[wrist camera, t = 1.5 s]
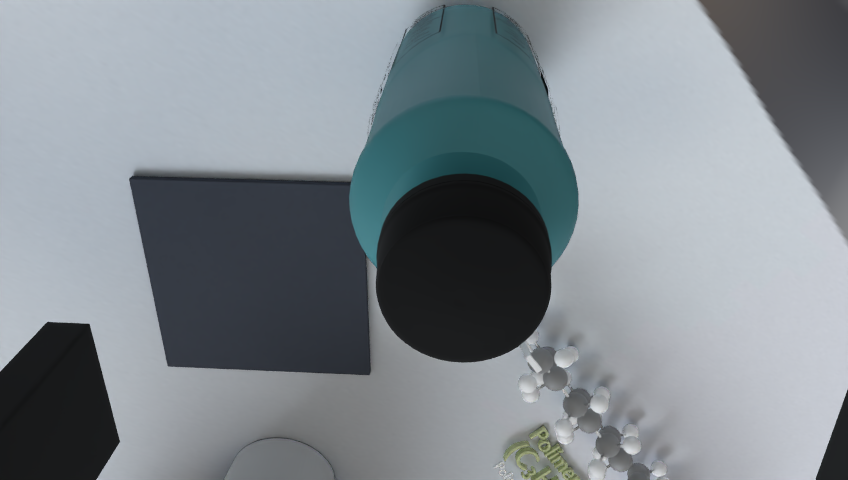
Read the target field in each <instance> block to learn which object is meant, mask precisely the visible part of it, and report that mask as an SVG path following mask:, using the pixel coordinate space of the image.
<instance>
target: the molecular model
mask: <svg viewBox="0 0 848 480" xmlns="http://www.w3.org/2000/svg"><path fill="white" fill-rule="evenodd" d="M538 339H539V333H538V331H537V330H535V331H534V333H533V334H532V335H531V336H530V337H529V338H528V339H527V340H526V341H525V342H523V343H522V344H521V345H520V347H521V350H522V352H523V355H524V357H525V359H526V360H527V362H528V366H529V368H530V369H531V370H532V373H531V374H524V375H522V376H521V377H520V378H519V380H518V387H519V389H520V390H521V391H522V397H523V399H524V400H525V401H526V402H528V403H534V402H536V401H537V400H538V399H539V396H540V392H539V390H540V389H541V388H543V387H544V386H546V387H547V388H548V389H550V390H552V391H560V390H562V391H563V392H564V394H565V395H566V397H565V399H564V401H563V407H564V410H565V411H564V413H563V418H562V419H559V420H558V421H557V422H556V423H555V431H556V437H557V439H558V441H559V442H560V443H562V444H570V443H571V442H572V441H573V439H574V433H573V432H574V431H575V430H577V429H578V428H580V429H581V430H582V431H584V432H586V433H594V432H596V434H597V435H598V438H597V440H596V446H595V447H594V449H593V456H594V458H595V459H594V460H592V461H591V462H590V463H589V465H588V476H589V478H590V479H591V480H604V478H605V473H606V469H607V468H609V467H610V466H611V467H612V468H613V469H614V470H616V471H618V472H624V471H627V470H628V472H627V475H628V480H650V473H653V474H654V475H655V476H658V478H657V479H656V480H670V479H669V478H667V477H664V475H665V474H666V473H667V466H666V464H665V463H664V462H662V461H659V460H658V461H655V462H653V463H652V465H651V470H650V471H649V469H648V468H647V467H646V466H645V465H644V464H641V463H634V464H632V461H633V460H632V456H631V455H634V454H637V453H639V451H640V450H641V442H640V440H639V439H638V436H639V430H638V428H637V427H636V426H635V425H633V424H627V425H626V426H624V428H623V434H620V433H619V431H618V430H617V429H616V428H615V427H612V426H605V427H603V426H602V425H601V423H602V420H601V419H602V413H604V412H605V411H607V409H608V407H609V399H610V392H609V390H608V389H607V388H605V387H598V388H596V389H595V391H594V396H592V397H591V396H590V394H589V393H588V392H587V391H586V390H584V389H582V388H576V389H574V390H573V389H572V387H571V386H570V383H571V381H572V375H571V373H570V372H569V371H568V370H565V369H563V368H567V367H569V366H571V364H572V363H574V362H576V361H577V360H578V358H579V352H578V350H577V349H576V348H575V347H573V346H567V347H565V348H564V349H560V350H558V351H557V352H556V351H555V350H554V349H553V348H550V347H543V348H540V347H539V345H538V344H537V343H536V342H537V341H538ZM533 344H535V345H536V347H537V349H534V350H533V349H532V348H531V347H530V345H533ZM529 350H530V351H529ZM530 352H531V353H530ZM557 365H558V366H557ZM537 385H538V386H540V385H541V386H540V387H538V388H537ZM567 385H568V387H569V388H570V390H571V392H570V393H569V394H568V393H567V392H566V390H565V389H564V387H565V386H567ZM590 406H591V408H590V409H588V408H589V407H590ZM576 423H577V424H578V426H577V427H576V428H574V429H573V425H574V424H576ZM600 427H601V430H600V431H599V432H598V430H599V428H600ZM542 432H545V433H544V434H541V433H542ZM537 435H538V437H539V438H541V440H540V441H539V442H538V447H539V450H540V451H542V452H544V455H545V456H547V458H548V460H550V462H551V463H554V462H555V461H557V460H559V459H560V460H559V461H557V462H556V463H554V467H555V468H557V467H559V466H560V465H562V464H563V465H562V466H560V467H559V468H557V469H558V472H559V473H560V472H562V476H563V478H564V479H566V480H580V478H579V476H577V474H574V471H573V469H572V468H571V467H568V465H567V462H566V461H565V460H563V457H562V456H561V455H560V454H558V452H559V453H564V452H563V449H562V448H560V445H559V444H556V445H554V446H553V447H551V445H550V442H549V440H547V439H546V438H547V437H548V436H549V434H548V431H547V429H546V428H545V427H544V426H542V427H541V428H539V429H537V430H536V431H534V432H533V433H531V434H530V435H529V437H530V439H533V438H534V437H536V436H537ZM621 436H624V437H625V439H624V441H623V444H620V442H621ZM544 443H546V444H547V446H545V447H541V445H542V444H544ZM526 446H530V445H529V442H528V441H520V442H517V443H514V444H513V445H511V446H510V447H509V448H508V449H507V450H506V451H505V453H504V456H503V458H504V461H506V459H507V458H508V457H509V456H510V455H511V454H512V453H513V452H514V451H516V450H518V449H520V448H522V447H525V448H522V449H520V450H519V451H518V452H517V453H516V456H515V459H516V462H517V465H518V466H519V468H520V469H522V470H524V471H525V470H527V466H526V465H525V464H523V463H521V462H520V458H521V457H522V456H523V455H525V454H532V455H534V456H535V457H536V461H537V462H539V461H540V459H539V456H538V453H537V452H536V450H534V449H533V448H530V447H526ZM557 450H558V452H557ZM607 458H608V461H609V465H608V466H606V465H605V463H604V462H603V461H605V460H606V459H607ZM501 464H503V466H500V465H501ZM496 467H499V468H501V470H499V475H500V476H503V479H504V478H506V477H507V478H506V479H505V480H508V479H509V480H514V479H513V478H511V476H509V475H511V474H512V472H510V473H508V474H507V475H506V470H505V469H503V468H504V467H505V464H504V463H503V462H502V461H501V462H500V463H498V464H497V465H495V466H494V467H493V468H494V469H495V468H496ZM531 470H532V471H529V470H528V471H527V472H528V474H526V475H524V474H523V472H521V475H522V477H523V478H524V479H529V478H530V477H531V480H539V479H541V478H542V480H548V479H547V478H546V475H547V474H549V473H550V472H551V469H550V467H549V466H547V467H545V468H544V469H542V470H541V471H539V472H538V473H536V470H535V468H534V466H531ZM501 471H504V472H505V473H504V474H501ZM569 472H570V473H569ZM566 473H567V474H568V475H569V476H570V478H568V476H566V475H565V474H566ZM531 475H533V476H531ZM508 476H509V477H508ZM512 477H513V474H512ZM510 478H511V479H510ZM549 480H559V478H558V477H557V475H556V476H554V477H553V478H551V479H549Z"/></svg>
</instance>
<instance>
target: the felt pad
mask: <svg viewBox="0 0 848 480" xmlns="http://www.w3.org/2000/svg"><path fill="white" fill-rule="evenodd" d="M129 180H130V185H131V190H132V195H133V199H134V204H135V209H136V214H137V219H138V224H139V229H140V233H141V238H142V243H143V248H144V253H145V258H146V263H147V267H148V272H149V277H150V282H151V287H152V292H153V296H154V301H155V306H156V311H157V316H158V321H159V326H160V330H161V335H162V340H163V345H164V350H165V355H166V360H167V364H168V366H171V367H194V368H217V369H240V370H263V371H286V372H309V373H332V374H355V375H370V371H371V369H370V344H369V318H368V292H367V267H366V253H365V252H364V250H363V249H362V247H361V245H360V243H359V240H358V238H357V236H356V233H355V230H354V227H353V224H352V220H351V214H350V205H349V194H350V185H351V182H319V181H284V180H250V179H215V178H181V177H146V176H132V177H131V178H130V179H129Z"/></svg>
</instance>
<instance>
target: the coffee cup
mask: <svg viewBox="0 0 848 480" xmlns="http://www.w3.org/2000/svg"><path fill="white" fill-rule="evenodd" d="M224 480H335V477H334V473H333V470H332V468H331V466H330V464H329V463H328V461H327V460H326V459H325V458H324V457H323V456H322V455H321V454H320V453H319V452H318V451H316V450H315V449H313V448H312V447H310V446H308V445H306V444H303V443H301V442H298V441H294V440H290V439H283V438H270V439H263V440H259V441H256V442H254V443H251V444H249V445H248V446H246V447H245V448H243V449H242V450H241V451H240V452H239V453H238V454H237V456H236V457H235V459H234V461H233V463H232V465H231V467H230V469H229V471H228V472H227V474H226V476H225V478H224Z"/></svg>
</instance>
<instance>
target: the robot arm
mask: <svg viewBox="0 0 848 480" xmlns="http://www.w3.org/2000/svg"><path fill="white" fill-rule="evenodd" d="M119 442H120V440H119V437H118V433H117V429H116V425H115V421H114V417H113V413H112V409H111V406H110V402H109V398H108V394H107V390H106V386H105V382H104V379H103V375H102V371H101V367H100V363H99V359H98V355H97V352H96V348H95V344H94V340H93V336H92V332H91V328H90V324H80V323H57V322H47V323H46V324H45V325H44V326H43V327H42V328H41V329H40V330H39V331H38V332H37V334H36V335H35V336H34V337H33V338H32V339H31V340H30V341H29V342H28V343H27V344H26V345H25V346H24V347H23V348H22V349H21V350H20V351H19V353H18V354H17V355H16V356H15V357H14V358H13V359H12V360H11V361H10V362H9V363H8V364H7V365H6V366H5V367H4V368H3V369H2V370H1V372H0V480H96V479H97V478H98V476H99V474H100V473H101V471H102V470H103V468H104V466H105V465H106V463H107V462H108V460H109V458H110V457H111V455H112V454H113V452H114V450H115V449H116V447H117V446H118V444H119ZM816 480H848V390H847V393H846V396H845V399H844V402H843V404H842V407H841V410H840V413H839V415H838V418H837V421H836V424H835V427H834V429H833V432H832V435H831V438H830V441H829V443H828V446H827V449H826V452H825V455H824V457H823V460H822V463H821V466H820V468H819V471H818V474H817V477H816Z"/></svg>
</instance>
